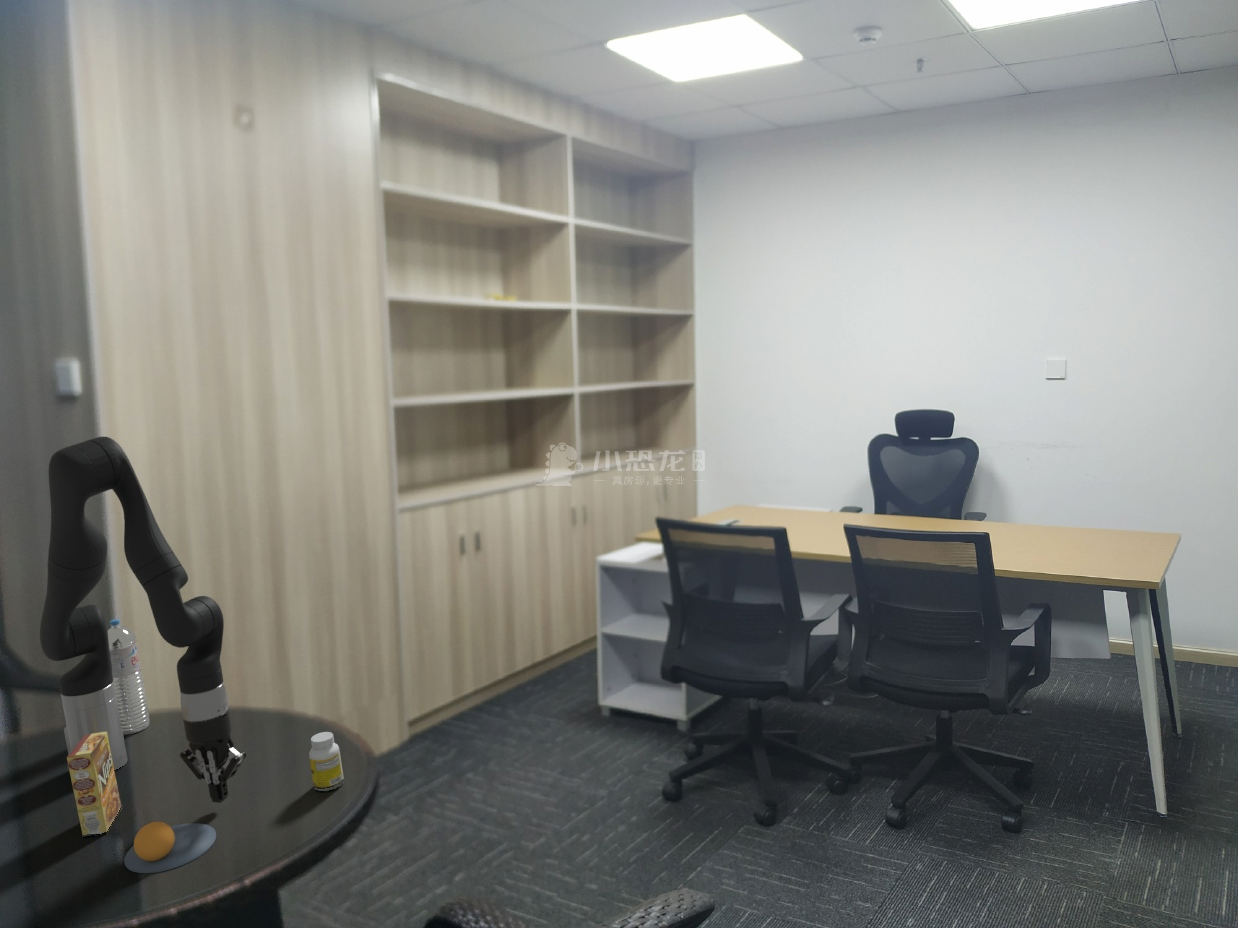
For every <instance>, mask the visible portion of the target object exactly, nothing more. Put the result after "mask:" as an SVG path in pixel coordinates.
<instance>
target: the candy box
mask: <svg viewBox="0 0 1238 928" xmlns="http://www.w3.org/2000/svg"><path fill="white" fill-rule="evenodd" d="M66 760H67V765H68V771H69V775H70V779H71V785H72V790H73V796H74V799H75V804H76V809H77V813H78V819H79V824H80V829H81V833H82V836H83V835H87V834H100V835H103V834H102V833H104V832H107V831H108V832H109V830H110V829H109V827H110V826H111V827H112V825H113V824H112V822H113V821H114V822H115V820H116V819H115V817H116V816H117V817H118V815H119V813H120V812H119V810H120V808H121V807H122V803H121V798H120V793H119V787H118V783H117V777H116V771H114V767H113V761H112V756H111V751H110V746H109V740H108V735H107V732H100V733H94V734H88V735H84V736H83V737H82V739H81V740H80V741H79V743H78V744H77V745H76V747H75V748H74V749H73V750H72V752H71V753H70V754H68V755H67V756H66ZM121 809H122V808H121ZM120 811H121V810H120ZM118 812H119V813H118ZM117 814H118V815H117ZM117 817H116V818H117ZM114 819H115V820H114ZM114 822H113V823H114ZM111 824H112V825H111ZM111 827H110V828H111ZM108 829H109V830H108ZM108 832H107V833H108Z"/></svg>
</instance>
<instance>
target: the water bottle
mask: <svg viewBox="0 0 1238 928" xmlns="http://www.w3.org/2000/svg"><path fill="white" fill-rule="evenodd" d="M109 624H110V625H109V626H110V628H108V629H107V631H108V640H109V649H110V657H111V663H112V675H113V681H114V687H115V692H116V698H117V703H118V709H119V714H120V720H121V725H122V731H123V736H124V735H125V736H126V735H132V734H133V735H134V734H136V733H140V732H141V731H144V730H145V729H147V728H148V727H149V726H150V724H151V723H150V722H151V721H150V720H151V719H150V713H149V712H150V711H149V707H148V700H147V696H146V689H145V684H144V679H143V678H144V677H143V671H142V669H141V663H140V659H139V653H138V647H137V638H136V637H137V636H136V634H135V633H134V632H133V631H132V630H130V629H129V628H127V627H124V626H122V625H121V621H120V619H119V618H114V619H111V620H110V621H109Z"/></svg>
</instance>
